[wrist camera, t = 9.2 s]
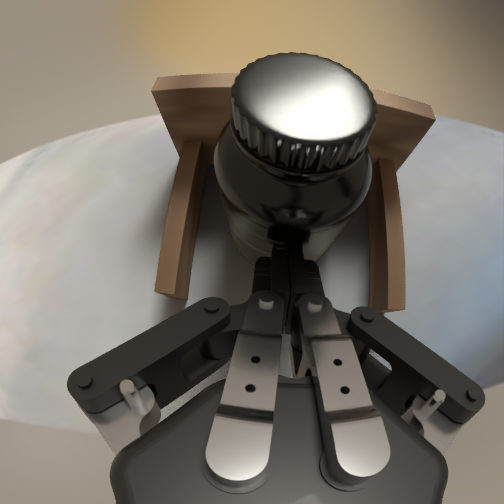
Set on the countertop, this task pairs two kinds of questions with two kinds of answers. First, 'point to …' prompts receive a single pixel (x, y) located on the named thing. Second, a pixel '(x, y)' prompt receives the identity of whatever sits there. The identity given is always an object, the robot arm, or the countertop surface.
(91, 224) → the countertop surface
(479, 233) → the countertop surface
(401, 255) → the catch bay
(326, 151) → the supplement bottle
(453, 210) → the countertop surface
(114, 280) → the countertop surface
